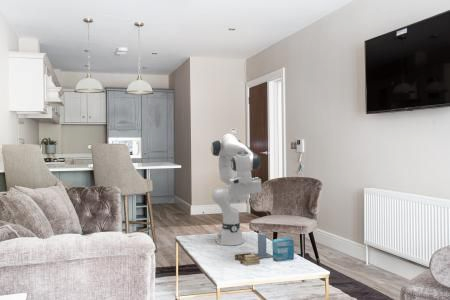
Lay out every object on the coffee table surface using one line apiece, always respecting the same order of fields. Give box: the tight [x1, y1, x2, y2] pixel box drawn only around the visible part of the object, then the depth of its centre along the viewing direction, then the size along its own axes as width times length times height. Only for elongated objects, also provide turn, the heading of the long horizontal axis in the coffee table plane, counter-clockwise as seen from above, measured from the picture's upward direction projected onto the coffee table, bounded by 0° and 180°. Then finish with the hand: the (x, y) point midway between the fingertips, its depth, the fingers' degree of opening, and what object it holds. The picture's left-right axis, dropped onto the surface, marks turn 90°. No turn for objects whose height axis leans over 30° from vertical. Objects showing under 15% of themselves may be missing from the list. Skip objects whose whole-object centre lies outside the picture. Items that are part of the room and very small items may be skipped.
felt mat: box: [251, 252, 273, 260], centre depth 276 cm, size 10×11×1 cm
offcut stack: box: [241, 255, 261, 266], centre depth 259 cm, size 5×9×4 cm, turn 111°
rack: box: [234, 252, 257, 264], centre depth 266 cm, size 10×10×3 cm
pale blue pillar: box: [257, 232, 267, 257], centre depth 276 cm, size 6×3×13 cm, turn 21°
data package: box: [271, 237, 295, 262], centre depth 267 cm, size 12×4×12 cm, turn 113°
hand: (245, 201), depth 273 cm, fingers open, 8 cm apart
